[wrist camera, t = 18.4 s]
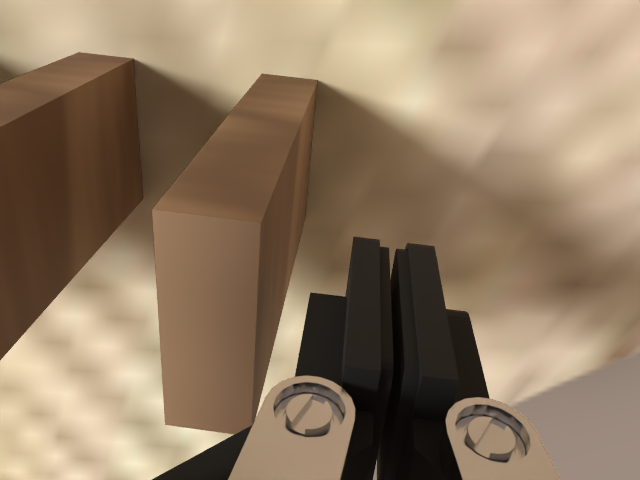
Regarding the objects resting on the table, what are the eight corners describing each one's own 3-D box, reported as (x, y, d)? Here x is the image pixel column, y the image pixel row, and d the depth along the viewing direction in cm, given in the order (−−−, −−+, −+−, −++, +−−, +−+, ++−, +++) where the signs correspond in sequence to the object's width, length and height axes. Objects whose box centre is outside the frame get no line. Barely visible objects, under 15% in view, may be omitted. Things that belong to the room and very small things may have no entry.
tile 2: (95, 192, 20) (-116, 385, 12) (78, 52, 18) (-203, 163, 9) (142, 198, 20) (-33, 397, 12) (133, 58, 18) (-99, 177, 9)
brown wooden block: (256, 212, 20) (164, 424, 12) (261, 73, 18) (152, 210, 9) (304, 218, 20) (250, 436, 11) (317, 80, 18) (260, 223, 9)
